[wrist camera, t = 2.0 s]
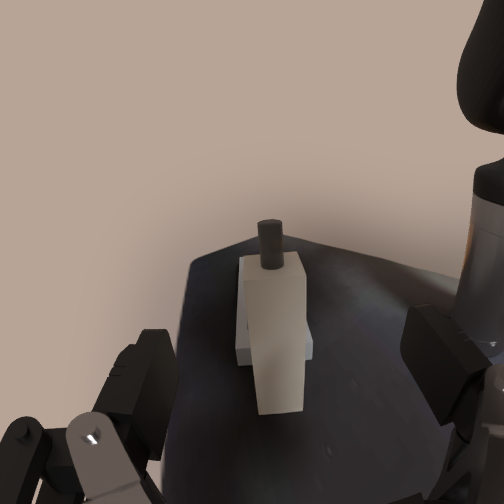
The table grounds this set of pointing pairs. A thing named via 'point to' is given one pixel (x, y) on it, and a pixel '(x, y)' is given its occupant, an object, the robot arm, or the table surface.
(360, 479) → the table surface
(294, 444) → the table surface
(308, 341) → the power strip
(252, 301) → the plug
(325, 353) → the table surface
